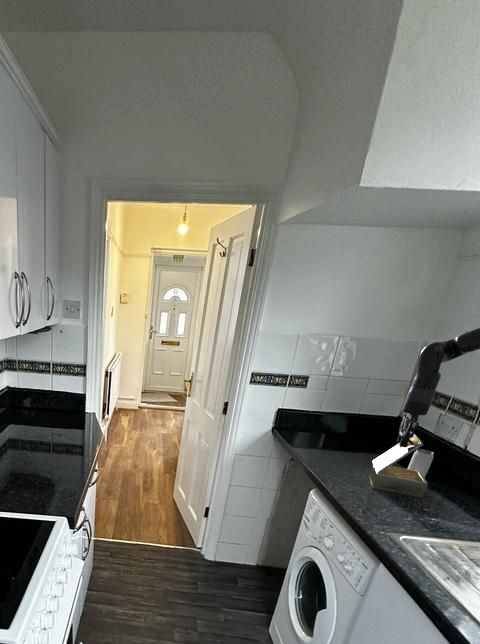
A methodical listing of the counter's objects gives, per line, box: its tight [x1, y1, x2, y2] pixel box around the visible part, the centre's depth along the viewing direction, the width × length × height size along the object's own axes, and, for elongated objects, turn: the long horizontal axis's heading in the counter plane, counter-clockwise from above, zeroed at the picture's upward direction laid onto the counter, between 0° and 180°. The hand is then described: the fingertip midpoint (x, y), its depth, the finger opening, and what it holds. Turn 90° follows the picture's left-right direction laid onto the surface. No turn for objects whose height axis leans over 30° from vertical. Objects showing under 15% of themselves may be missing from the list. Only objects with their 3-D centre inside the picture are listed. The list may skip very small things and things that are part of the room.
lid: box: [372, 430, 424, 473], centre depth 157 cm, size 17×14×6 cm
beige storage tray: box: [367, 463, 429, 499], centre depth 160 cm, size 16×14×6 cm
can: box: [407, 448, 435, 479], centre depth 167 cm, size 6×6×12 cm
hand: (401, 444), depth 155 cm, fingers closed on lid, 5 cm apart
